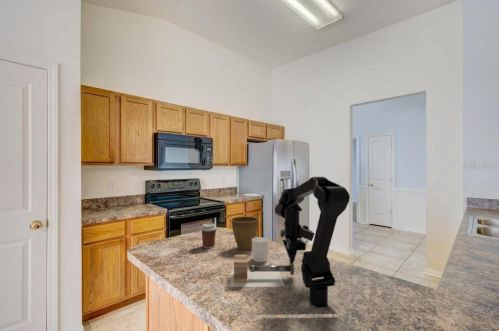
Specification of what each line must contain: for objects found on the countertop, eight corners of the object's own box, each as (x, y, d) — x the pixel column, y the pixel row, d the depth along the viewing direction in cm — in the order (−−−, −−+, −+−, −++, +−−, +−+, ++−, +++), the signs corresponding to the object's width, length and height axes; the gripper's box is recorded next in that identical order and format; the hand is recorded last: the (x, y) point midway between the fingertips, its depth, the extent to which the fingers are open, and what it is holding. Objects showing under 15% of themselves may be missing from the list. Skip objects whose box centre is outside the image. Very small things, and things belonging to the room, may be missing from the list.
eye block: (247, 282, 88) (247, 262, 88) (233, 282, 87) (234, 262, 88) (246, 273, 96) (247, 254, 96) (234, 273, 95) (234, 254, 96)
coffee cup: (198, 245, 133) (198, 224, 133) (213, 243, 137) (213, 222, 137) (203, 250, 125) (203, 227, 125) (219, 247, 129) (219, 225, 129)
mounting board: (284, 288, 85) (284, 286, 85) (229, 289, 84) (229, 286, 84) (278, 271, 99) (278, 269, 99) (231, 272, 98) (231, 270, 98)
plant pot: (259, 244, 135) (259, 216, 135) (256, 253, 120) (256, 222, 120) (234, 243, 137) (234, 215, 137) (228, 252, 122) (228, 221, 123)
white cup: (248, 262, 109) (248, 240, 109) (256, 256, 116) (256, 236, 116) (264, 265, 105) (264, 243, 106) (270, 259, 112) (271, 238, 113)
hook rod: (295, 277, 90) (295, 254, 90) (249, 277, 89) (249, 254, 89) (292, 271, 94) (292, 250, 95) (249, 272, 94) (249, 250, 94)
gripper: (320, 226, 84) (320, 271, 83) (305, 216, 102) (305, 252, 102) (289, 226, 83) (288, 271, 83) (280, 216, 102) (279, 252, 101)
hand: (291, 261), depth 92 cm, fingers closed on hook rod, 2 cm apart
